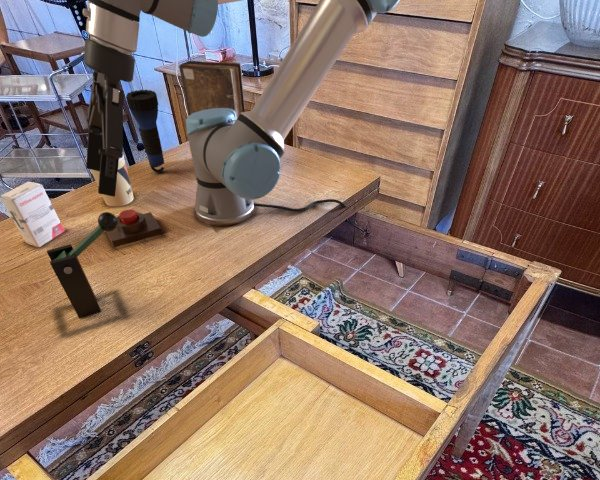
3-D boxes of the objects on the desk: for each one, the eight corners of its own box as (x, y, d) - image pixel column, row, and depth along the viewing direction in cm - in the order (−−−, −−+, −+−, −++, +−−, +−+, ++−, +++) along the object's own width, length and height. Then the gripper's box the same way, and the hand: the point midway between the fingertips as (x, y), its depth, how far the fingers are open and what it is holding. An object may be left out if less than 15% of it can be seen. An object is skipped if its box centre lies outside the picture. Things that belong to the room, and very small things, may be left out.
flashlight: (179, 172, 132) (161, 93, 116) (156, 180, 128) (135, 101, 113) (164, 164, 136) (145, 87, 120) (142, 172, 132) (119, 94, 117)
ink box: (51, 226, 113) (28, 179, 104) (65, 231, 112) (43, 183, 102) (24, 243, 108) (-3, 195, 99) (38, 248, 107) (12, 200, 98)
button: (136, 214, 109) (133, 208, 107) (140, 222, 107) (138, 215, 105) (119, 219, 108) (117, 212, 106) (123, 226, 105) (121, 219, 104)
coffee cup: (137, 205, 119) (123, 158, 110) (102, 210, 118) (84, 163, 109) (136, 189, 125) (121, 144, 116) (102, 194, 124) (85, 148, 114)
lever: (119, 218, 82) (105, 204, 79) (124, 226, 80) (109, 213, 78) (66, 268, 84) (50, 256, 81) (69, 277, 82) (53, 266, 79)
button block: (153, 220, 114) (148, 204, 111) (163, 236, 109) (158, 220, 106) (106, 232, 111) (100, 217, 108) (114, 249, 106) (108, 234, 103)
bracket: (114, 292, 95) (89, 233, 84) (124, 316, 90) (99, 256, 79) (56, 310, 91) (23, 250, 81) (64, 336, 86) (29, 276, 76)
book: (194, 161, 136) (174, 63, 117) (206, 153, 140) (190, 56, 121) (240, 171, 131) (228, 69, 112) (252, 161, 135) (242, 62, 116)
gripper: (74, 25, 77) (68, 155, 89) (99, 48, 62) (88, 201, 73) (119, 43, 81) (108, 165, 93) (153, 69, 66) (135, 210, 78)
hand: (99, 181), depth 83 cm, fingers open, 13 cm apart
